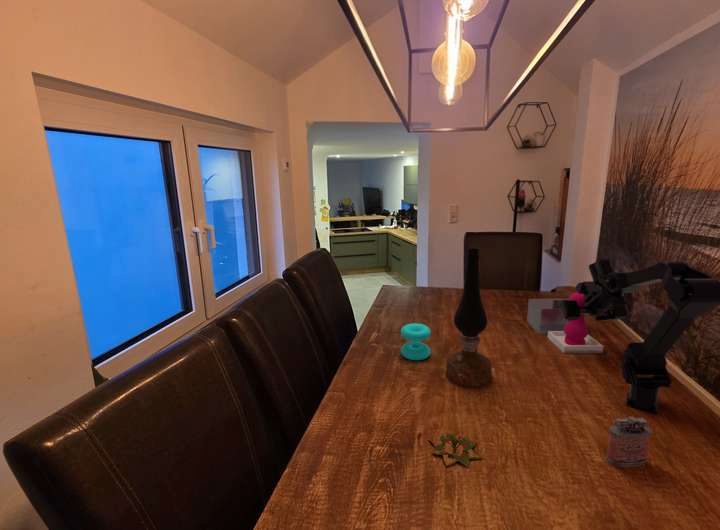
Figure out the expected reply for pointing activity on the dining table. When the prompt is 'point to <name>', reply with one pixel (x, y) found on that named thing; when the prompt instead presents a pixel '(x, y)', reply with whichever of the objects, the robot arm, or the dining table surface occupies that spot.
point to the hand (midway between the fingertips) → (581, 319)
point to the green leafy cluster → (464, 442)
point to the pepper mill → (576, 325)
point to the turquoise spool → (415, 348)
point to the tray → (589, 346)
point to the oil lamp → (470, 333)
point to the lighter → (628, 442)
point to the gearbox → (546, 315)
